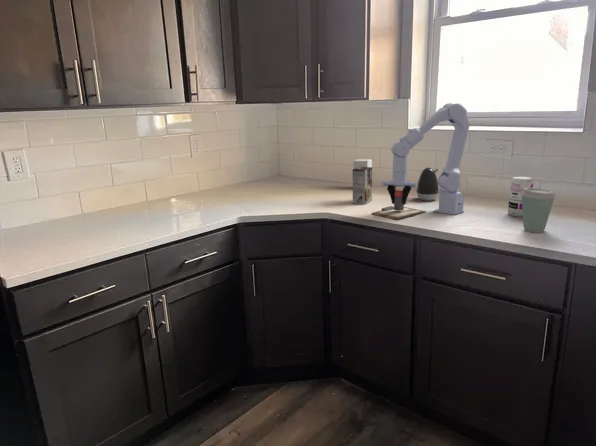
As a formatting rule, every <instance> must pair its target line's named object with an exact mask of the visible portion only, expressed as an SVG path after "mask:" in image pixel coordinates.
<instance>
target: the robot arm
mask: <svg viewBox="0 0 596 446" xmlns="http://www.w3.org/2000/svg"><path fill="white" fill-rule="evenodd" d="M467 112H468V110H467V109H466V108H465V106H463V104H461V103H451V102H448V103H446V104H444V105H443V106H442V107H440V108H439V109H438V110H436V112H434V113H433V114H432V115H431V116H430V117H429V118H428V119H427V120H426V121H425V122H424V123H423V124H422V125H421V126H419V128H418V127H417V128H416V127H414V128H410V129H409V130H408V132H407V133H406V134H405V135H404V136H403V137H400V138H399V141H395V142H394V143H393V144H392V147H391V149H390V150H391V153H392V154H393V155H392V179H391V180H382V181H381V186H382V187H385V186H386V187H387V188H386V190H387V192H388V193H389V196H390V200H391V205H394V190H397V188H398V187H402V190H403V205H404V206H406V205H407V201H408V197H409V194H410V192H411V190H412V188H414V189H417V187H418V181H416V182H415V181H409V180H408V181H407V178H408V175H407V174H408V155H409V154H410V150H412V149H413V148H414V147H416V145H418V144H419V143H420V142H421V141H422V140H423V139H424V136H425V134H427V133H428V132H429V131H430V130H432V129H433V128H434V127H435V126H436V125H438V124H439V123H441V122H448V121H449V123H450V124H451V125H452V126H453V128H454V130H453V134H452V139H451V143H450V146H449V147H450V148H449V151H448V155H447V156H448V157H447V160H446V165H445V166H444V168H443V169H442V171H441V173H440V175H439V177H437V180H438V185H439V193H438V195H439V196H438V208H436V209H434V212H437V213H443V214H448V215H451V216H452V215H454V216H455V215H457V214H461V213H464V212H465V210H464V203H465V195H464V194H463V193H462V192H460V191H459V189H460V188H461V171H460V166H461V161H462V157H463V154H464V151H465V150H464V149H465V145H466V142H467V137H468V133H469V130H470V122H469V119H468V113H467Z"/></svg>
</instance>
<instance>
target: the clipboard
mask: <svg viewBox="0 0 596 446" xmlns="http://www.w3.org/2000/svg"><path fill="white" fill-rule="evenodd" d="M426 213H427V211H426V210H421V209H416V208H412V207H411V208H410V207H406V206H404V210H400V211H398V210H394V205H390V206H386V207H382V208H381V210H378V211H373V212H371V215H373V216H377V217H382V218H386V219H390V220H395V221H400V220H403V219H407V218H411V217H415V216H419V215H422V214H426Z"/></svg>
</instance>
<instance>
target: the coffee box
mask: <svg viewBox="0 0 596 446" xmlns="http://www.w3.org/2000/svg"><path fill="white" fill-rule="evenodd" d="M372 201H373V166H372V167H358V168H355V169H354V168H353V169H352V204H354V205H363V206H365V205H367V204H368V203H370V202H372Z"/></svg>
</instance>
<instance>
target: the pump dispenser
mask: <svg viewBox="0 0 596 446" xmlns="http://www.w3.org/2000/svg"><path fill="white" fill-rule="evenodd" d="M437 171H438V172H439V168H435V169H433V168H432V167H425V168H424V169H423V170H422V171H421V173H420V175H419V178H418V181H417V182H418V187H417V188H415V189H416V194H417V197H418V198H419V199H420V200H421V201H426V202H431V201H435V200H436V199H437V197H438V195H439V193H440V185H439V183H438V176H437V174H436V172H437Z"/></svg>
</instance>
